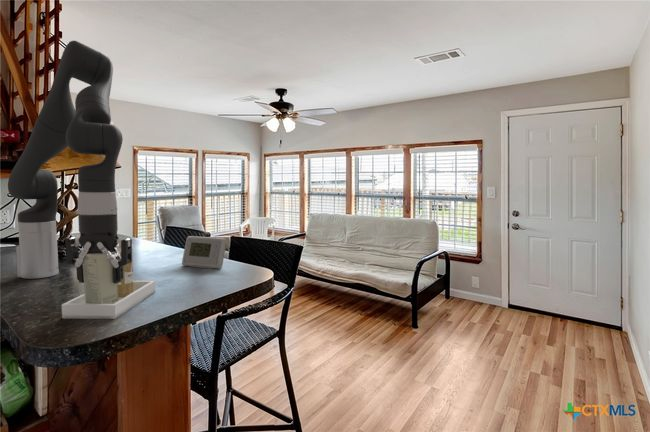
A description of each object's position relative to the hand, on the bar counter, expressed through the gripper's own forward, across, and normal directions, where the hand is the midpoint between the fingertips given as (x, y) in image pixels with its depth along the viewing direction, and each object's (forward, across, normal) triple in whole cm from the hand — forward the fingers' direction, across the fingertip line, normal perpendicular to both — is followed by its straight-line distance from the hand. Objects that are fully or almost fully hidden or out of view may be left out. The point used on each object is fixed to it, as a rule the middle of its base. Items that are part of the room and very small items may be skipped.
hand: (100, 282), depth 83 cm
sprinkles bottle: (+6, 0, +10) cm, 12 cm away
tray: (+7, 0, +5) cm, 8 cm away
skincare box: (+5, 0, 0) cm, 5 cm away
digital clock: (+7, +10, +45) cm, 47 cm away
